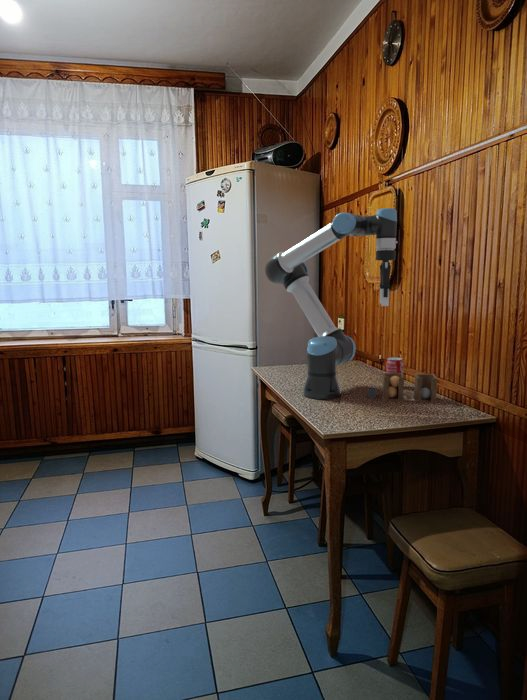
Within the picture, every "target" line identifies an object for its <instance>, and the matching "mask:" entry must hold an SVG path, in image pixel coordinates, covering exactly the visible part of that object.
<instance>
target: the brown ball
mask: <svg viewBox="0 0 527 700" xmlns="http://www.w3.org/2000/svg"><path fill="white" fill-rule="evenodd" d="M389 383H390V385H391V386H392V387H398V386H399V377H398V376H393V377H391V378H390V380H389Z"/></svg>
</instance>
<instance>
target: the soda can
mask: <svg viewBox="0 0 527 700" xmlns="http://www.w3.org/2000/svg"><path fill="white" fill-rule="evenodd" d="M385 373H402V374H403V375H404V361H403V358H402V357H393V356H392V357H387V360H386V361H385Z"/></svg>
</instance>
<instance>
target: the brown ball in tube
mask: <svg viewBox="0 0 527 700" xmlns="http://www.w3.org/2000/svg"><path fill="white" fill-rule="evenodd" d="M396 395H397V390H396V388H395V387H392V386H391V387H389V397H390V398H393V397H395V396H396Z"/></svg>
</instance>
